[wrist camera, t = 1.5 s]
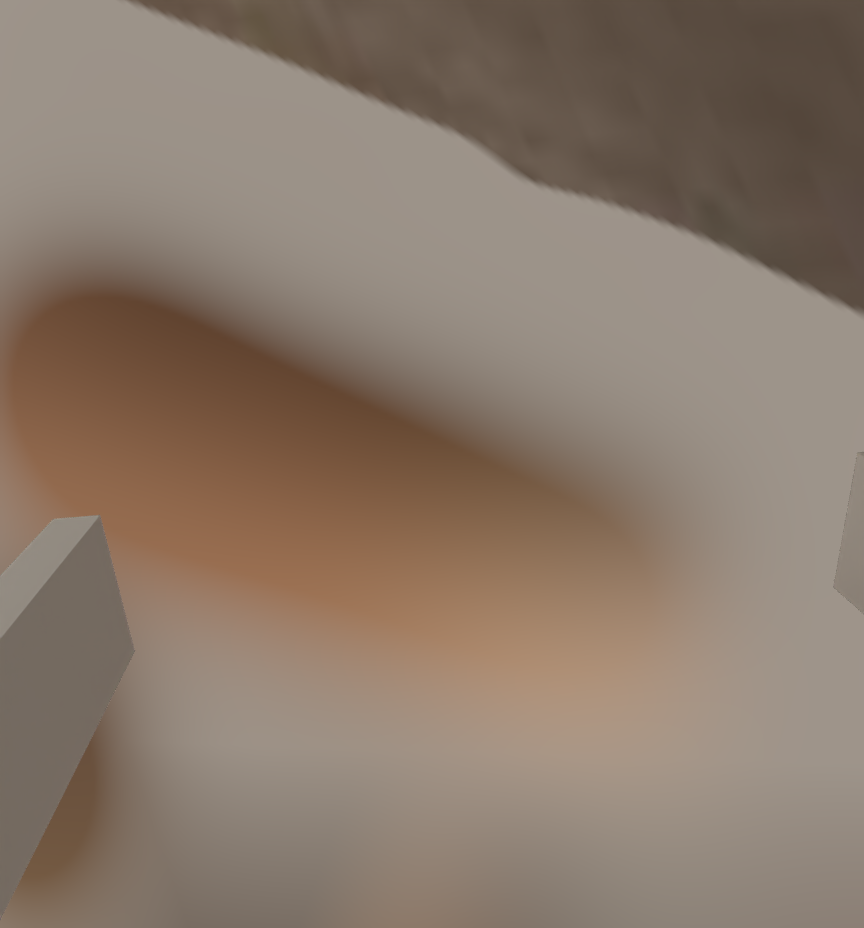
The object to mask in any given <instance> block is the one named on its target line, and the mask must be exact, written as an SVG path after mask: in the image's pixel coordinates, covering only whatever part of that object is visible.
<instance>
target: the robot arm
mask: <svg viewBox="0 0 864 928" xmlns="http://www.w3.org/2000/svg"><path fill="white" fill-rule="evenodd" d="M834 588H835V589H836V590H837V591H838V592H839V593H841V594H842V595H843V596H844V597H845V598H846V599H847V600H848V601H850V602H851V603H852V604H853V605H854V606H855V607H856V608H857V609H859V610H860V611H861V612H862V613H863V614H864V452H860V453H857V458H856V464H855V469H854V475H853V481H852V486H851V492H850V498H849V503H848V509H847V514H846V520H845V525H844V531H843V537H842V542H841V548H840V554H839V559H838V565H837V570H836V576H835V581H834ZM134 652H135V650H134V647H133V642H132V638H131V635H130V631H129V627H128V623H127V619H126V615H125V611H124V607H123V603H122V599H121V595H120V591H119V588H118V584H117V580H116V576H115V572H114V568H113V564H112V560H111V556H110V552H109V548H108V544H107V540H106V537H105V533H104V529H103V525H102V521H101V517H100V515H98V516H84V517H73V518H60V519H53V520H52V521H51V522H50V523H49V524H48V525H47V526H46V527H45V528H44V530H43V531H42V532H41V533H40V534H39V535H38V536H37V537H36V538H35V539H34V540H33V541H32V542H31V543H30V544H29V546H28V547H27V548H26V549H25V550H24V551H23V552H22V553H21V554H20V555H19V556H18V557H17V558H16V559H15V561H14V562H13V563H12V564H11V565H10V566H9V567H8V568H7V569H6V570H5V571H4V572H3V573H2V574H1V576H0V919H1V917H2V915H3V913H4V911H5V909H6V907H7V905H8V903H9V901H10V899H11V897H12V895H13V893H14V891H15V889H16V887H17V885H18V883H19V881H20V879H21V877H22V875H23V873H24V871H25V869H26V867H27V865H28V863H29V861H30V859H31V857H32V855H33V853H34V851H35V849H36V847H37V845H38V844H39V842H40V839H41V838H42V836H43V833H44V831H45V830H46V827H47V826H48V823H49V822H50V819H51V818H52V815H53V814H54V812H55V809H56V807H57V806H58V803H59V801H60V800H61V797H62V796H63V794H64V792H65V790H66V788H67V786H68V784H69V781H70V780H71V778H72V776H73V774H74V772H75V770H76V767H77V766H78V764H79V762H80V760H81V757H82V756H83V754H84V752H85V750H86V748H87V746H88V744H89V742H90V740H91V738H92V736H93V734H94V732H95V730H96V728H97V726H98V724H99V722H100V720H101V718H102V716H103V714H104V712H105V710H106V708H107V706H108V704H109V702H110V700H111V698H112V696H113V694H114V692H115V690H116V688H117V686H118V684H119V682H120V680H121V678H122V676H123V674H124V672H125V670H126V668H127V666H128V664H129V662H130V660H131V658H132V656H133V654H134Z"/></svg>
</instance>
